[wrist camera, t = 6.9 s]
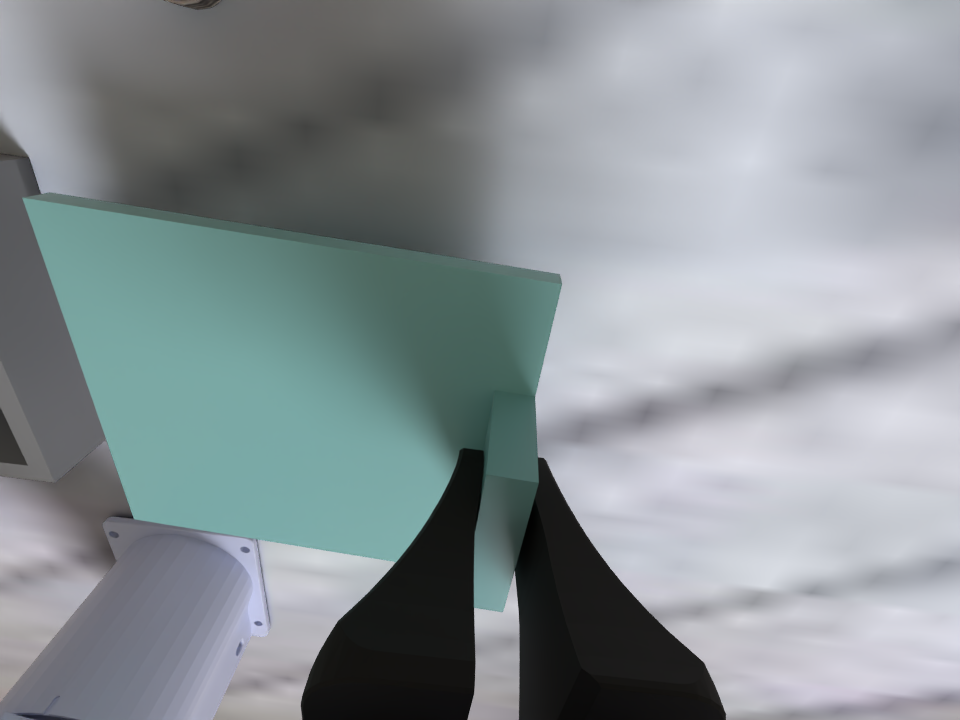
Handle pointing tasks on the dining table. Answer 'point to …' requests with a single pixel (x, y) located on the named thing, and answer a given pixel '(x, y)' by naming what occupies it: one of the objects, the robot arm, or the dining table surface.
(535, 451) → the lid
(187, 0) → the lighter
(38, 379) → the tub
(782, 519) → the dining table surface
